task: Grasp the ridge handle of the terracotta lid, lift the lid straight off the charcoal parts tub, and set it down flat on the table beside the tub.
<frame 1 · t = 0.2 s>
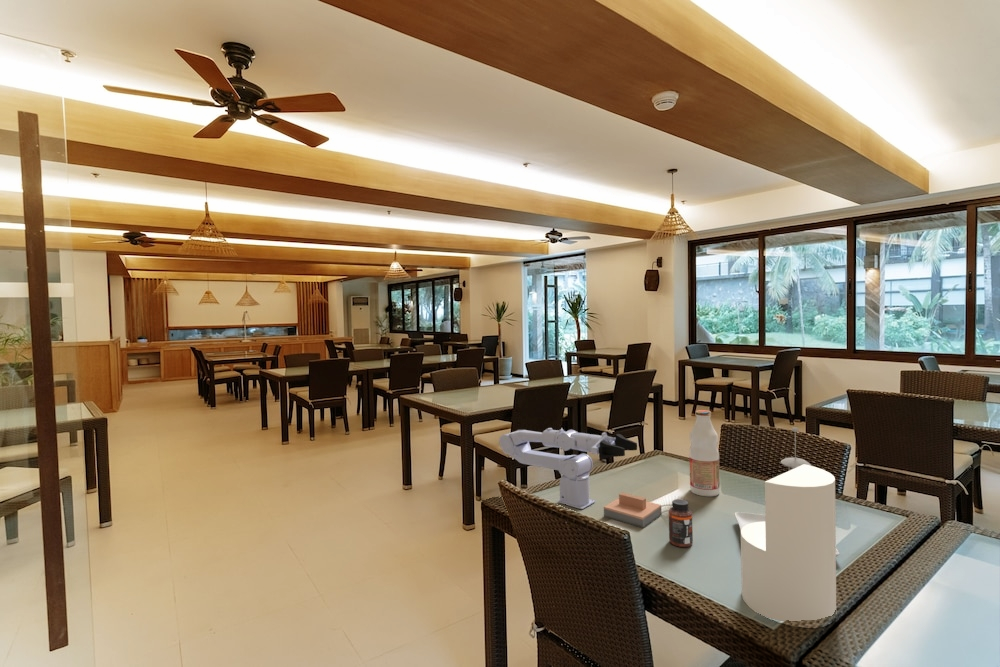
hand: (630, 449, 147), 21 cm above the table, tool horizontal, fingers open, 7 cm apart
fruit juice: (704, 492, 167), on the table
supplement bottle: (681, 543, 131), on the table
white stepped round block: (787, 603, 103), on the table
lid: (632, 507, 150), point 2 cm above the table, touching tub
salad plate: (782, 542, 131), on the table
tub: (632, 515, 150), on the table
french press: (795, 505, 154), on the table
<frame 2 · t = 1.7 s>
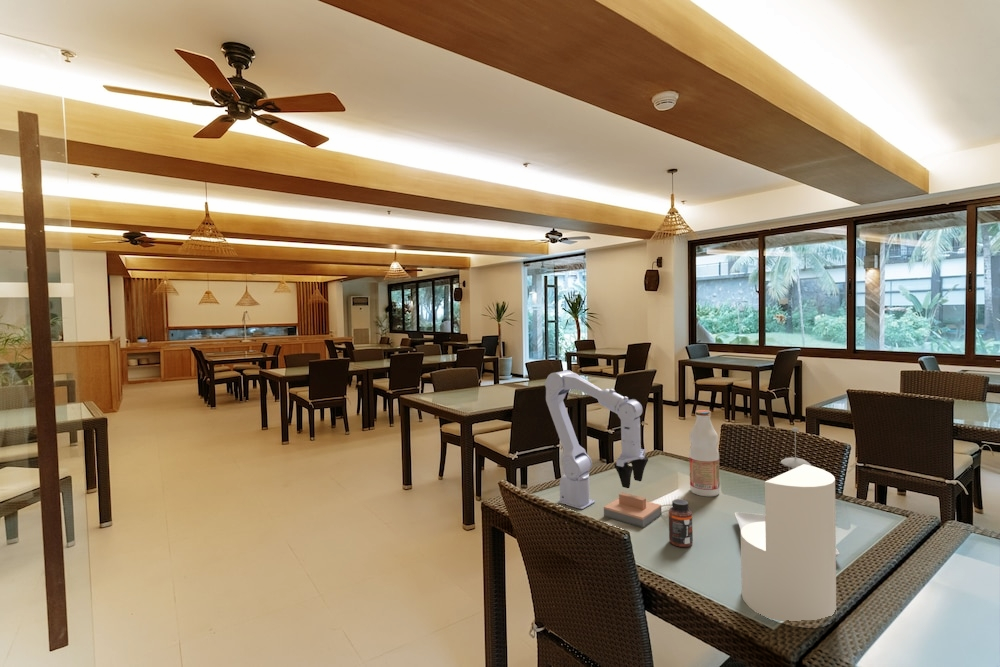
hand: (632, 483, 149), 10 cm above the table, tool pointing down, fingers open, 7 cm apart
nothing on the table moved.
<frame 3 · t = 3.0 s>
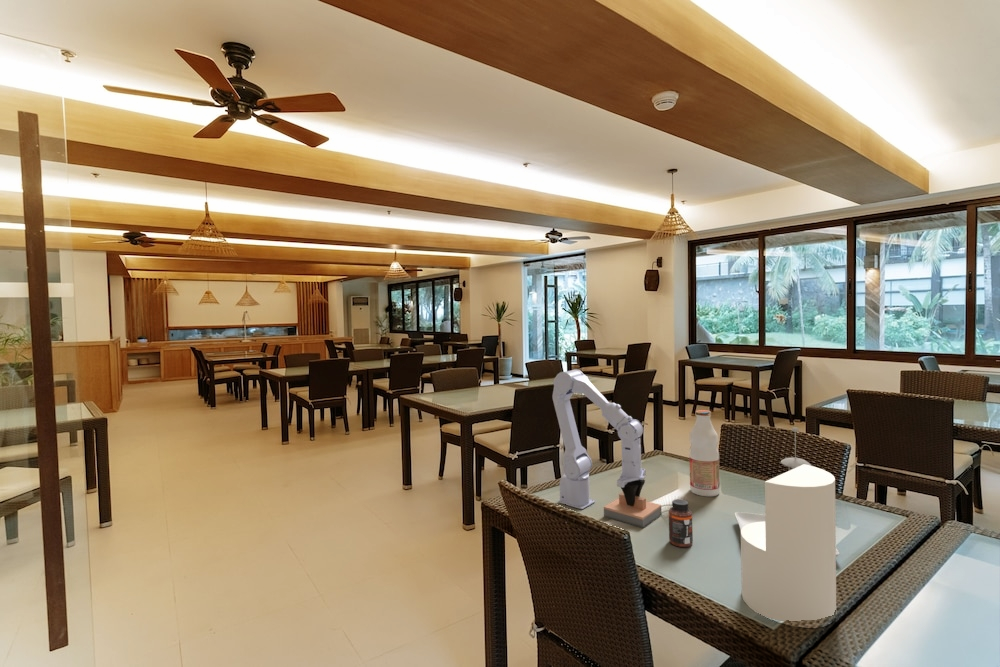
hand: (632, 503, 150), 4 cm above the table, tool pointing down, fingers closed on lid, 2 cm apart
lid: (632, 507, 150), point 2 cm above the table, touching gripper, tub
everything else where it was.
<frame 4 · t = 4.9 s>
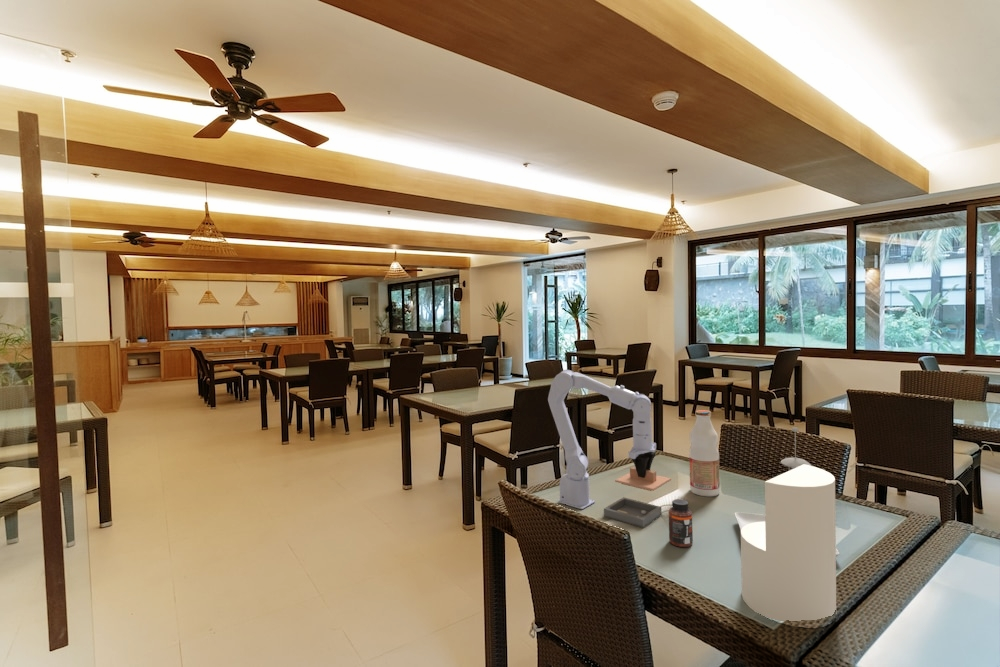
hand: (643, 476, 155), 10 cm above the table, tool pointing down, fingers closed on lid
lid: (643, 481, 155), point 9 cm above the table, touching gripper
everything else where it was.
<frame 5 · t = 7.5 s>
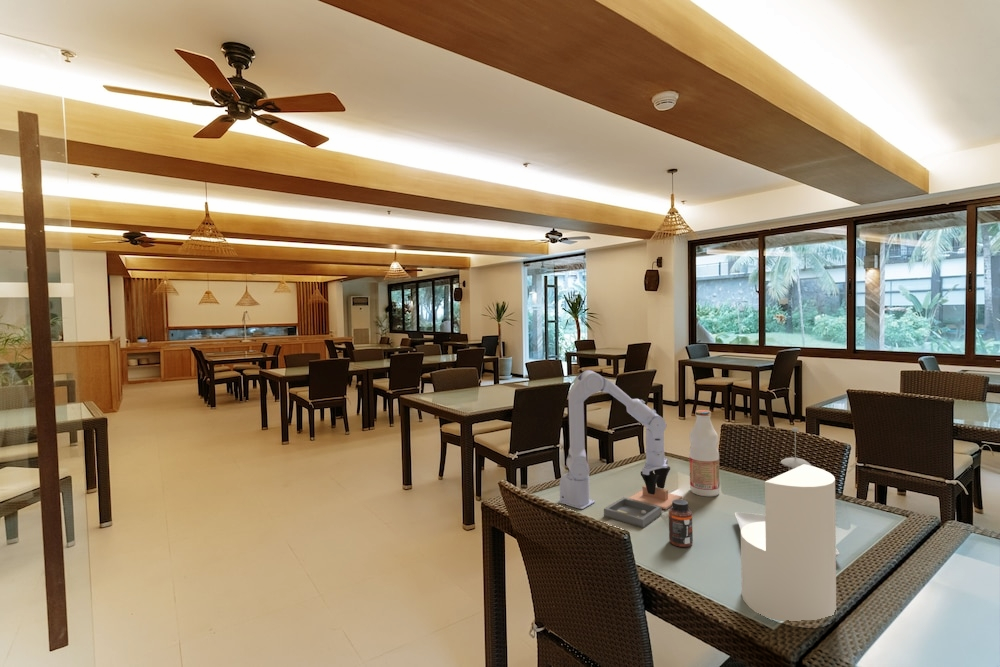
hand: (656, 490, 161), 3 cm above the table, tool pointing down, fingers open, 6 cm apart
lid: (655, 498, 162), on the table
everything else where it was.
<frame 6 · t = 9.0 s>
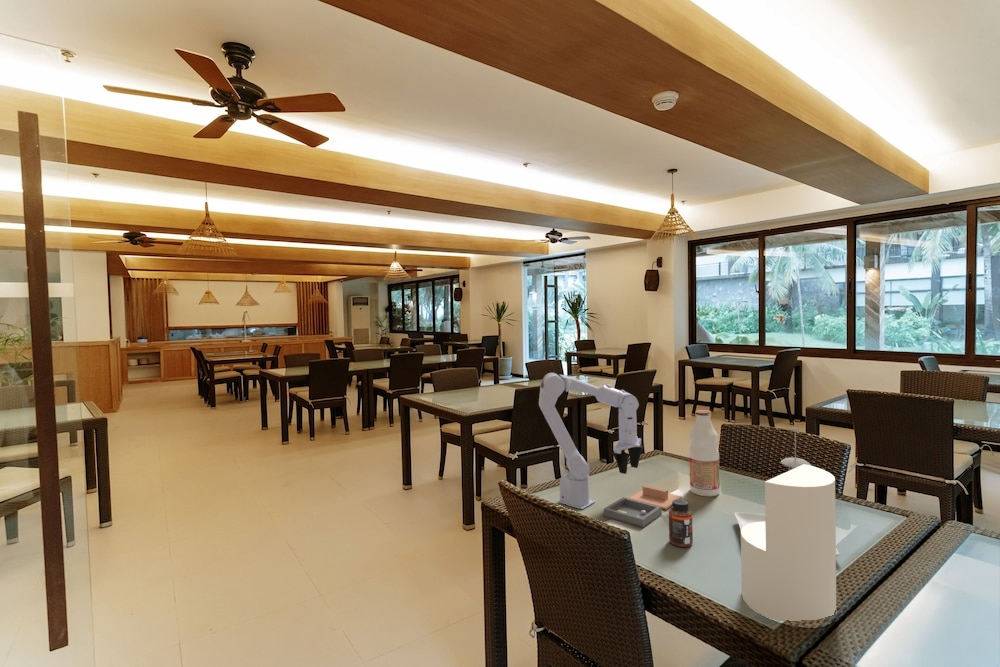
hand: (628, 470, 161), 10 cm above the table, tool pointing down, fingers open, 7 cm apart
nothing on the table moved.
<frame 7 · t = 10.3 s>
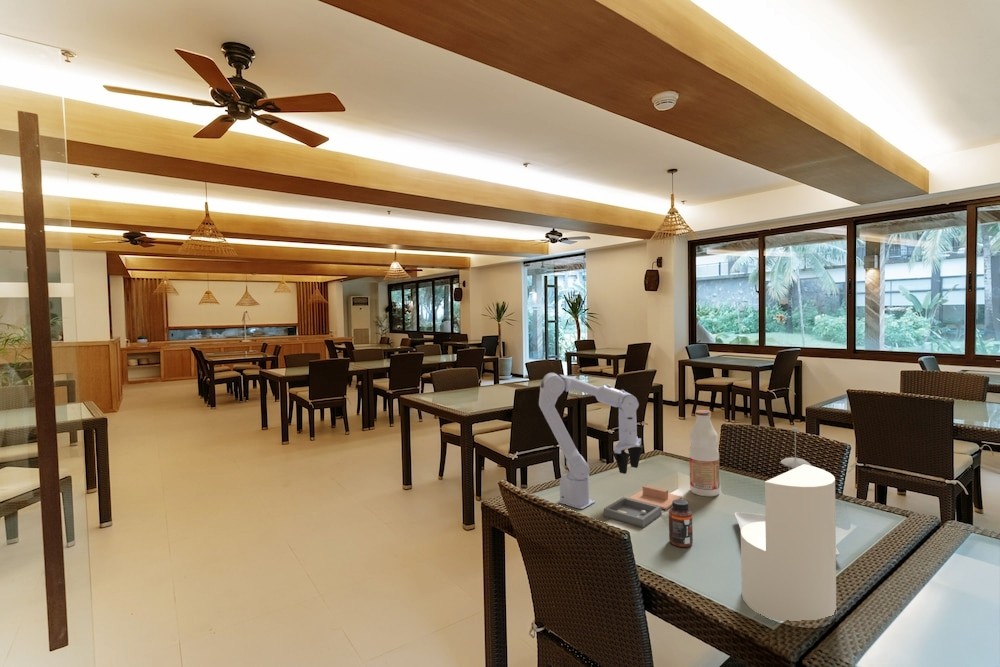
hand: (628, 470, 161), 10 cm above the table, tool pointing down, fingers open, 7 cm apart
nothing on the table moved.
at the end: lid inside the target area (0.3 cm from its centre), on the table; lid tilted 0°; lid touching table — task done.
